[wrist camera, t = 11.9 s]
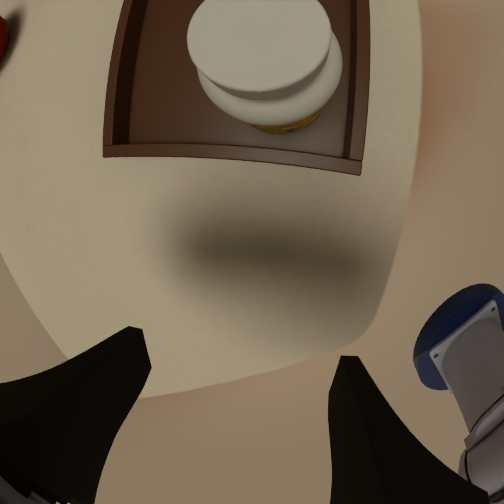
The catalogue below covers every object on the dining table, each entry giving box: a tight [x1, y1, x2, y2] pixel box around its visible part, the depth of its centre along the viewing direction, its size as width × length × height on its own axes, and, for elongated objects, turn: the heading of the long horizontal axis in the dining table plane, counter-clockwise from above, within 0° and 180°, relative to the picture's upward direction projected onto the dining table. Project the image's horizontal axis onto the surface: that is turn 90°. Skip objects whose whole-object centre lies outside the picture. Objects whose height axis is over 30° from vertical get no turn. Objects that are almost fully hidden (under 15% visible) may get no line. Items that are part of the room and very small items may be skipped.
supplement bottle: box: [187, 0, 342, 134], centre depth 10 cm, size 5×5×10 cm
